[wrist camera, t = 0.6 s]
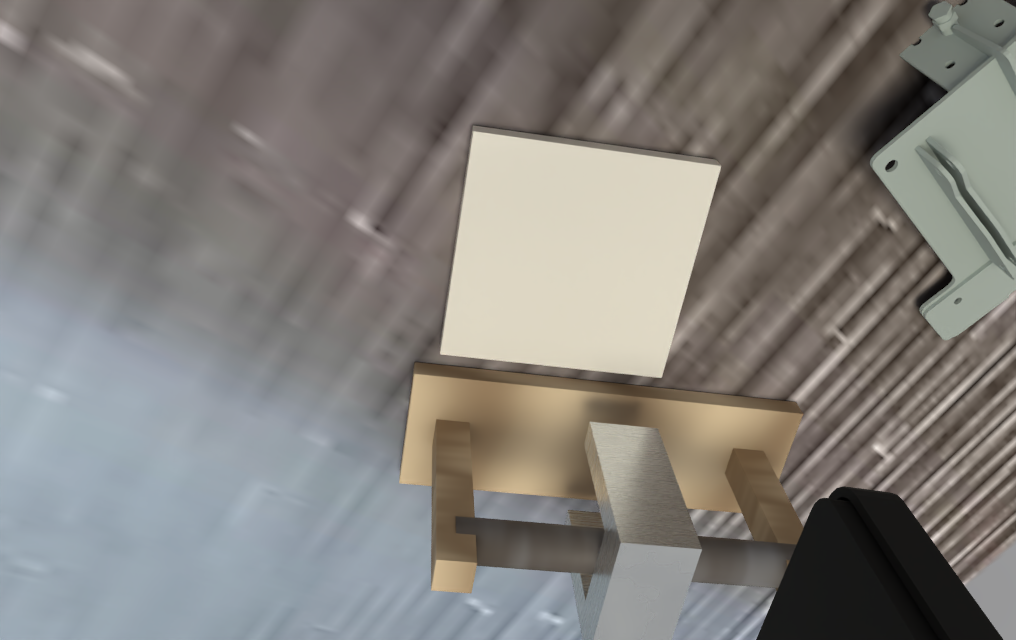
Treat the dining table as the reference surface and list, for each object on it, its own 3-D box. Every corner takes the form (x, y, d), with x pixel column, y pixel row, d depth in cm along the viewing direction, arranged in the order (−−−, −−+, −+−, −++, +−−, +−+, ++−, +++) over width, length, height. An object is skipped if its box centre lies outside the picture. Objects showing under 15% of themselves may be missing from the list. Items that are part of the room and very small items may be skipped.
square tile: (472, 125, 36) (473, 131, 36) (715, 159, 38) (721, 165, 37) (440, 345, 41) (440, 354, 40) (657, 368, 42) (661, 377, 41)
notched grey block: (589, 421, 39) (620, 542, 33) (657, 428, 40) (702, 549, 33) (562, 530, 42) (586, 662, 35) (627, 535, 42) (662, 667, 36)
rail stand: (400, 469, 44) (391, 631, 35) (414, 362, 41) (409, 508, 32) (759, 501, 46) (834, 660, 38) (795, 402, 44) (886, 548, 35)
